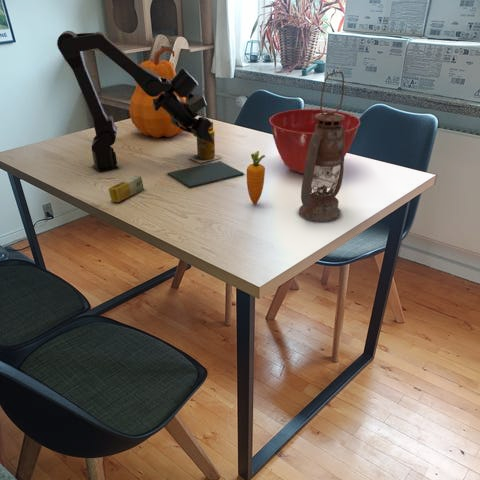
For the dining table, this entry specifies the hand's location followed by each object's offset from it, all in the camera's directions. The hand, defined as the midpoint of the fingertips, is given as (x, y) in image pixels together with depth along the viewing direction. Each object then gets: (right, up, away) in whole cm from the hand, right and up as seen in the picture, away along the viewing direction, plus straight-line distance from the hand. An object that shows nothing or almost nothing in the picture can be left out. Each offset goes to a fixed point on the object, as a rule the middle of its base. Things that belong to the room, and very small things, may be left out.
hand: (206, 138), depth 167 cm
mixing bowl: (+35, -12, -4) cm, 37 cm away
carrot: (+15, -30, -28) cm, 44 cm away
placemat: (0, -15, -10) cm, 18 cm away
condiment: (-1, -6, +3) cm, 7 cm away
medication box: (-21, -26, -24) cm, 41 cm away
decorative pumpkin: (-20, +12, +27) cm, 36 cm away
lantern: (+33, -33, -33) cm, 57 cm away
